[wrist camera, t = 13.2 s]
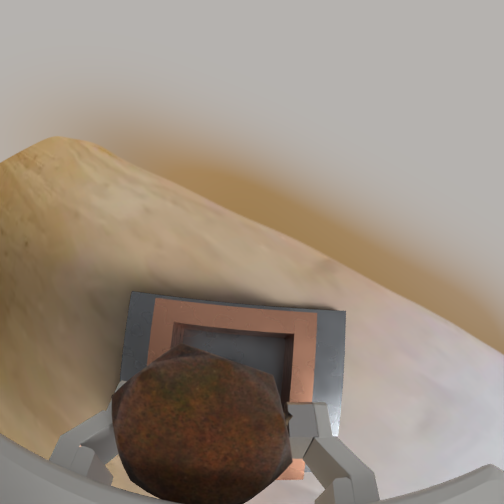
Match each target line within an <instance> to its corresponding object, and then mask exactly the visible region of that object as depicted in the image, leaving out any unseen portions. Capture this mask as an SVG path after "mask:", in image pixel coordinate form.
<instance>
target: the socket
mask: <svg viewBox="0 0 504 504" xmlns="http://www.w3.org/2000/svg"><path fill="white" fill-rule="evenodd" d="M345 324H346V311H334V310H316V309H299V308H285V307H271V306H259V305H247V304H236V303H226V302H216V301H207V300H197V299H189V298H180V297H172V296H164V295H156V294H148V293H141V292H134V291H132V293H131V299H130V305H129V311H128V317H127V324H126V331H125V338H124V346H123V354H122V363H121V373H120V382H121V381H128V380H129V379H130V378H131V377H133V376H134V375H135V374H137V373H138V372H139V371H141V370H142V369H143V368H145V367H146V366H148V365H149V364H150V363H152V362H153V361H154V360H156V359H157V358H158V357H160V356H161V355H162V354H164V353H165V352H167V351H169V350H170V349H172V348H173V347H175V346H177V345H178V344H180V343H184V344H186V345H189V346H192V347H195V348H198V349H201V350H204V351H207V352H209V353H212V354H215V355H218V356H221V357H223V358H226V359H229V360H232V361H235V362H237V363H240V364H243V365H246V366H249V367H252V368H255V369H258V370H261V371H263V372H266V373H269V374H272V375H273V376H274V379H275V383H276V386H277V389H278V392H279V396H280V400H281V405H282V409H283V413H284V406H285V403H286V402H325V403H326V404H327V408H328V413H329V419H330V424H331V429H332V435H333V436H337V437H338V431H339V422H340V412H341V401H342V388H343V373H344V355H345ZM292 460H293V462H292V463H291V465H290V466H289V467H288V468H287V469H286V470H285V471H284V472H283V473H282V474H281V475H280V476H279V477H278V478H277V479H276V480H301V479H303V477H304V472H312V471H311V470H310V469H309V468H308V466H307V465H306V464H305V462H304V461H303V459H292Z"/></svg>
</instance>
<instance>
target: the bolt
mask: <svg viewBox="0 0 504 504" xmlns="http://www.w3.org/2000/svg"><path fill="white" fill-rule="evenodd" d="M112 422H113V430H114V435H115V441H116V445H117V450H118V453H119V456H120V459H121V461H122V464H123V467H124V469H125V471H126V473H127V474H128V476H129V478H130V480H131V481H132V482H133V483H135V484H136V485H138V486H139V487H141V488H142V489H143V490H145V491H146V492H148V493H150V494H152V495H154V496H156V497H158V498H159V499H161V500H166V501H170V502H175V503H181V504H244V503H245V502H247V501H249V500H250V499H252V498H253V497H254V496H256V495H257V494H258V493H260V492H261V491H262V490H264V489H265V488H266V487H267V486H269V485H270V484H271V483H272V482H273V481H275V480H276V479H277V478H278V477H279V476H280V475H281V474H282V473H283V472H284V471H285V470H286V469H287V468H288V467H289V466H290V465H291V463H292V462H293V460H292V452H291V445H290V440H289V434H288V430H287V426H286V421H285V417H284V413H283V409H282V405H281V400H280V396H279V392H278V389H277V386H276V383H275V379H274V376H273V375H272V374H269V373H266V372H263V371H261V370H258V369H255V368H252V367H249V366H246V365H243V364H240V363H237V362H235V361H232V360H229V359H226V358H223V357H221V356H218V355H215V354H212V353H209V352H207V351H204V350H201V349H198V348H195V347H192V346H189V345H186V344H184V343H180V344H178V345H177V346H175V347H173V348H172V349H170V350H169V351H167V352H165V353H164V354H162V355H161V356H160V357H158V358H157V359H156V360H154V361H153V362H152V363H150V364H149V365H148V366H146V367H145V368H143V369H142V370H141V371H139V372H138V373H137V374H135V375H134V376H133V377H131V378H130V379H129V380H128V381H127V382H126V383H124V384H123V385H122V386H121V387H120V388H119V389H118V390H117V391H116V392H115V393H114V394H113V395H112Z"/></svg>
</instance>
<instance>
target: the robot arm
mask: <svg viewBox="0 0 504 504" xmlns="http://www.w3.org/2000/svg"><path fill="white" fill-rule="evenodd" d="M126 382H127V381H121V382H120V383H119V384H118V386H117V388H116V390H115V392H116V391H117V390H118V389H119V388H120V387H121V386H122V385H123V384H124V383H126ZM284 417H285V421H286V426H287V430H288V434H289V440H290V445H291V452H292V459H303V461H304V462H305V464H306V465H307V466H308V468H309V469H310V470H311V471H312V473H313V474H314V475H315V477H316V478H317V479H318V481H319V482H320V483H321V484H322V486H323V487H324V488H325V491H324V492H323V493H322V494H321V495H320V496H319V497H318V498H317V499H316V500H315V504H504V471H503V470H501V469H500V468H498V467H496V466H494V465H492V464H487V465H484V466H482V467H480V468H478V469H475V470H473V471H471V472H469V473H466V474H464V475H461V476H459V477H457V478H454V479H451V480H449V481H446V482H443V483H441V484H438V485H435V486H432V487H429V488H426V489H422V490H419V491H416V492H412V493H409V494H405V495H401V496H398V497H393V498H389V499H385V500H380V499H379V494H378V489H377V484H376V480H375V475H374V472H373V471H372V470H371V469H370V468H368V467H367V466H366V465H365V464H364V463H363V462H362V461H361V460H360V459H359V458H358V457H357V456H356V455H355V454H354V453H353V452H352V451H351V450H350V449H349V448H348V447H347V446H346V445H345V444H344V443H343V442H342V441H341V440H340V439H339V438H338V437H337V436H333V435H332V429H331V424H330V419H329V413H328V408H327V404H326V403H325V402H286V403H285V406H284ZM117 454H119V453H118V450H117V445H116V441H115V435H114V430H113V422H112V399H111V401H110V404H109V406H108V408H107V410H106V411H104V410H102V411H101V412H99V413H98V414H96V415H94V416H93V417H91V418H89V419H88V420H86V421H85V422H83V423H81V424H80V425H78V426H76V427H75V428H73V429H71V430H70V431H68V432H66V433H65V434H63V435H61V436H60V438H59V440H58V442H57V444H56V446H55V449H54V451H53V453H52V455H51V457H50V459H49V460H47V459H45V458H43V457H41V456H39V455H37V454H35V453H33V452H31V451H30V450H28V449H26V448H24V447H22V446H21V445H19V444H17V443H15V442H14V441H12V440H10V439H9V438H7V437H6V436H4V435H2V434H1V433H0V504H181V503H175V502H170V501H166V500H161V499H156V498H152V497H148V496H144V495H140V494H137V493H133V492H129V491H126V490H123V489H119V488H116V487H113V486H111V483H112V480H113V476H112V474H111V473H110V471H109V470H108V469H107V468H106V466H105V464H107V463H108V462H109V461H110V460H111V459H113V458H114V457H115V456H116V455H117Z"/></svg>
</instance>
